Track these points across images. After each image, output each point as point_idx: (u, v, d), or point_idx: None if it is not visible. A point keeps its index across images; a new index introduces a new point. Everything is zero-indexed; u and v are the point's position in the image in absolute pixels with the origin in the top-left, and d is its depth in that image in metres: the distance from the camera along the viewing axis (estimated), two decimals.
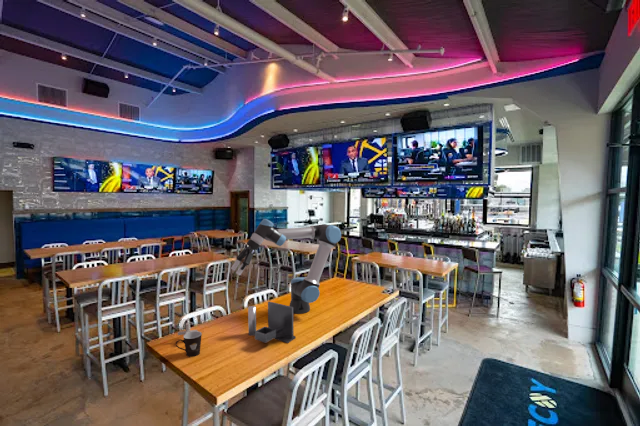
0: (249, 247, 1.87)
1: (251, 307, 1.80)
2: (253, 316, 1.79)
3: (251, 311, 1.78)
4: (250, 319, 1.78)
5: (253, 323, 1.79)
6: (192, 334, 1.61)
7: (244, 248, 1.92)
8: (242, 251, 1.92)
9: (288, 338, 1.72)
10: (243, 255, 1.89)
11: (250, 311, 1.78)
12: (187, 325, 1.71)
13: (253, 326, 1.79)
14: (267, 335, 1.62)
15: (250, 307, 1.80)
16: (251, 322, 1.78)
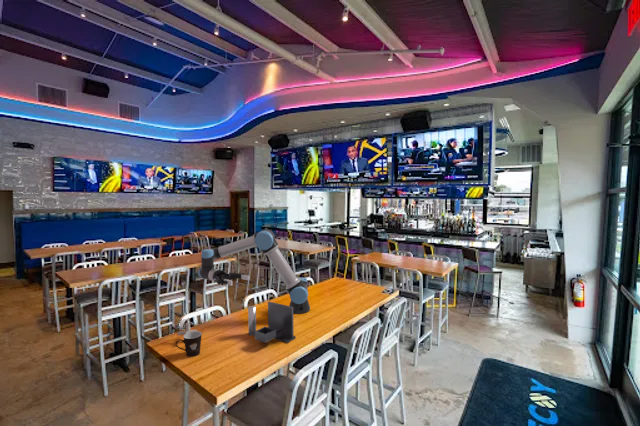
0: None
1: (251, 307, 1.80)
2: (253, 316, 1.79)
3: (251, 311, 1.78)
4: (250, 319, 1.78)
5: (253, 323, 1.79)
6: (192, 334, 1.61)
7: None
8: None
9: (288, 338, 1.72)
10: (233, 276, 1.94)
11: (250, 311, 1.78)
12: (187, 325, 1.71)
13: (253, 326, 1.79)
14: (267, 335, 1.62)
15: (250, 307, 1.80)
16: (251, 322, 1.78)
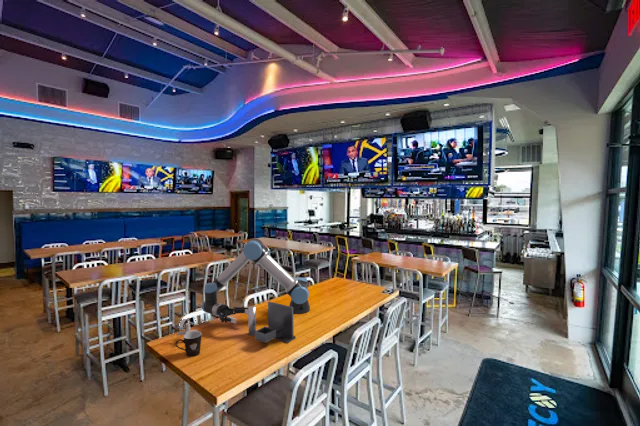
0: None
1: (251, 307, 1.80)
2: (253, 316, 1.79)
3: (251, 311, 1.78)
4: (250, 319, 1.78)
5: (253, 323, 1.79)
6: (192, 334, 1.61)
7: None
8: None
9: (288, 338, 1.72)
10: (237, 311, 1.93)
11: (250, 311, 1.78)
12: (187, 325, 1.71)
13: (253, 326, 1.79)
14: (267, 335, 1.62)
15: (250, 307, 1.80)
16: (251, 322, 1.78)
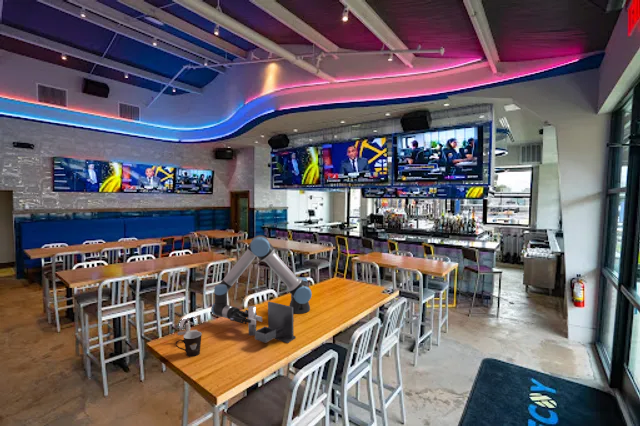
0: None
1: (251, 307, 1.80)
2: (253, 316, 1.79)
3: (251, 311, 1.78)
4: None
5: None
6: (192, 334, 1.61)
7: None
8: None
9: (288, 338, 1.72)
10: (246, 315, 1.86)
11: (250, 311, 1.78)
12: (187, 325, 1.71)
13: (253, 326, 1.79)
14: (267, 335, 1.62)
15: (250, 307, 1.80)
16: None
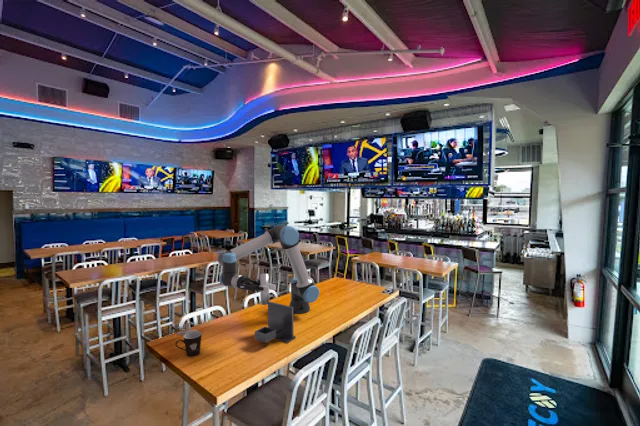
0: None
1: (263, 274, 1.65)
2: (266, 284, 1.64)
3: (263, 278, 1.63)
4: None
5: None
6: (192, 334, 1.61)
7: None
8: None
9: (288, 338, 1.72)
10: (257, 284, 1.71)
11: (262, 278, 1.63)
12: (187, 325, 1.71)
13: (266, 295, 1.64)
14: (267, 335, 1.62)
15: (262, 274, 1.65)
16: None
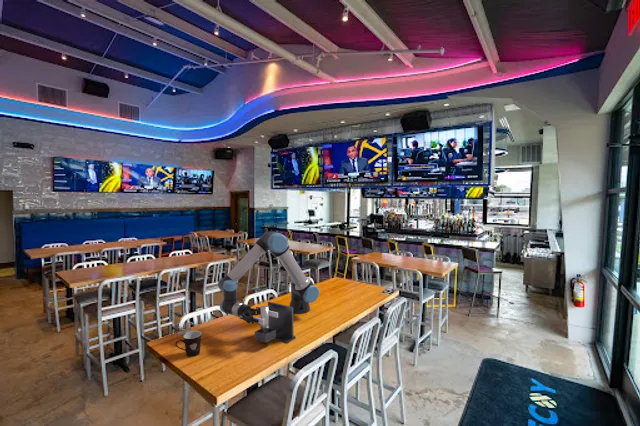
0: None
1: (263, 307, 1.66)
2: (266, 316, 1.65)
3: (264, 311, 1.64)
4: None
5: (266, 324, 1.65)
6: (192, 334, 1.61)
7: None
8: None
9: (288, 338, 1.72)
10: (259, 312, 1.73)
11: (263, 311, 1.64)
12: (187, 325, 1.71)
13: (266, 327, 1.65)
14: (267, 335, 1.62)
15: (262, 307, 1.66)
16: (264, 323, 1.64)
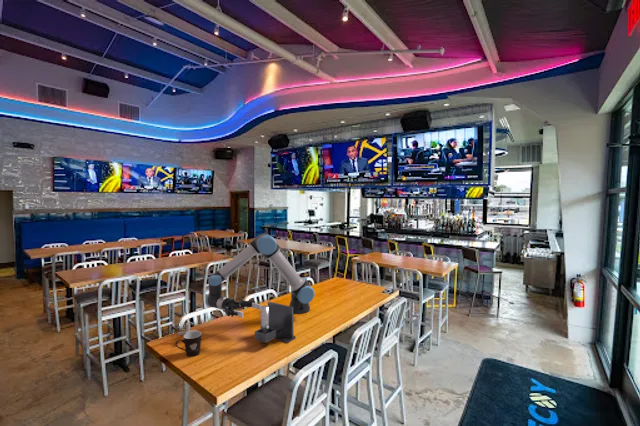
0: None
1: (264, 307, 1.66)
2: (266, 316, 1.65)
3: (264, 311, 1.64)
4: (263, 320, 1.64)
5: (266, 324, 1.65)
6: (192, 334, 1.61)
7: None
8: None
9: (288, 338, 1.72)
10: (243, 305, 1.81)
11: (263, 311, 1.64)
12: (187, 325, 1.71)
13: (266, 327, 1.65)
14: (267, 335, 1.62)
15: (263, 307, 1.66)
16: (264, 323, 1.64)
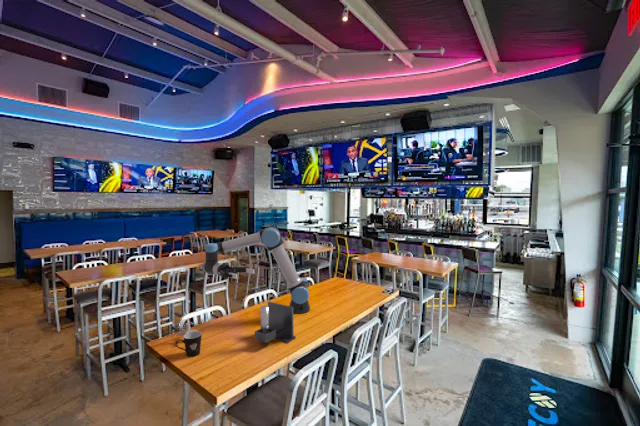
0: None
1: (264, 307, 1.66)
2: (266, 317, 1.65)
3: (264, 312, 1.64)
4: (263, 320, 1.64)
5: (266, 324, 1.65)
6: (192, 334, 1.61)
7: None
8: None
9: (288, 338, 1.72)
10: (238, 270, 1.91)
11: (263, 311, 1.64)
12: (187, 325, 1.71)
13: (266, 327, 1.65)
14: (267, 335, 1.62)
15: (263, 307, 1.66)
16: (264, 323, 1.64)
